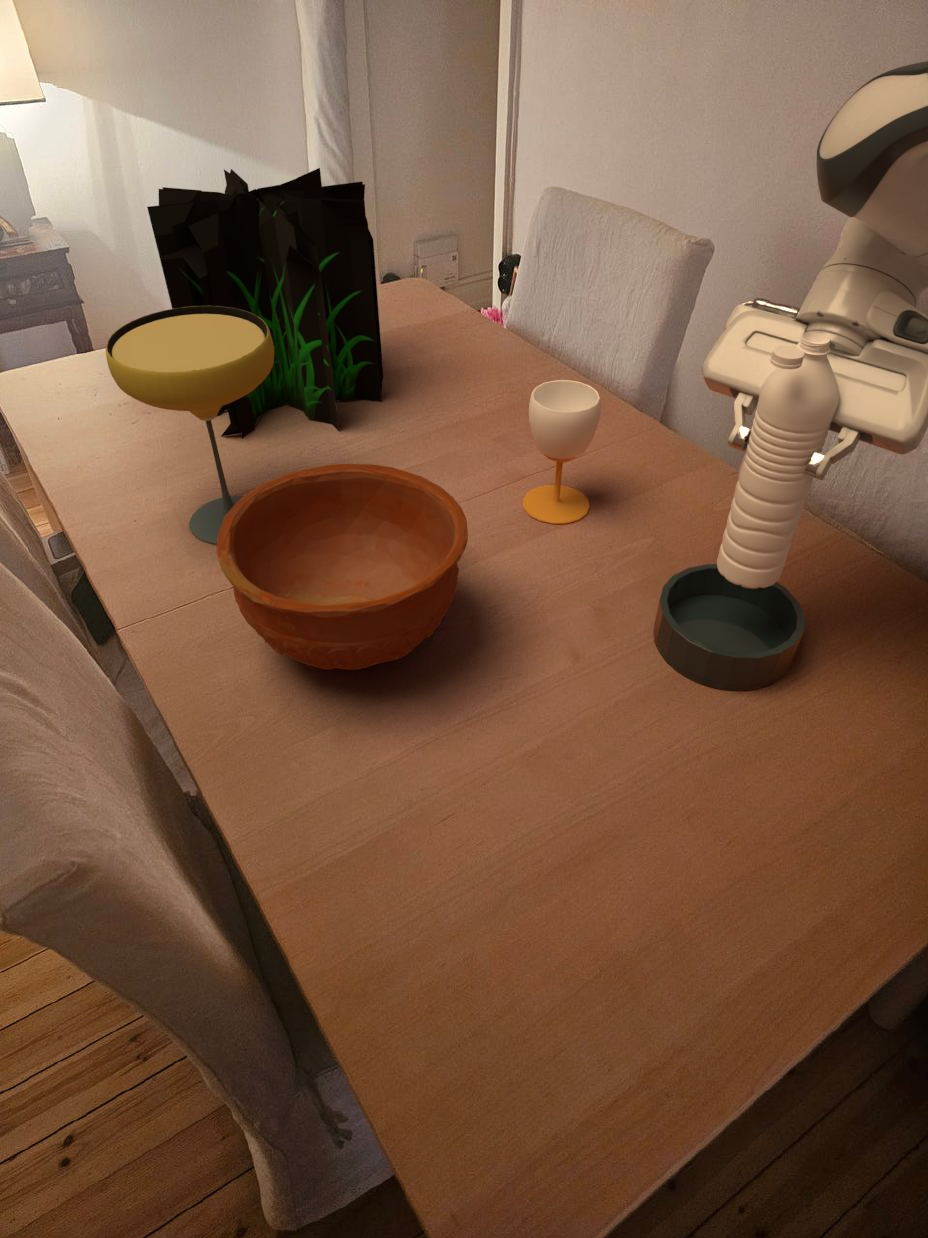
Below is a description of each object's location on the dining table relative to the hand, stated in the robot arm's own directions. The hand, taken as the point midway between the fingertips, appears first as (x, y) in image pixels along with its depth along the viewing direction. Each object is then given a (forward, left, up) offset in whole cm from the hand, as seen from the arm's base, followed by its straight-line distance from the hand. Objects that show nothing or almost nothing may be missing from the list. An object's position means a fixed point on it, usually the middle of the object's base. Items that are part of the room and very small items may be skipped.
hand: (773, 461), depth 75 cm
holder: (0, -1, -24) cm, 24 cm away
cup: (+29, -12, -24) cm, 39 cm away
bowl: (+33, +23, -24) cm, 47 cm away
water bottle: (0, -1, -14) cm, 14 cm away
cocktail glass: (+61, +17, -24) cm, 68 cm away
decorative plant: (+80, -12, -24) cm, 84 cm away
